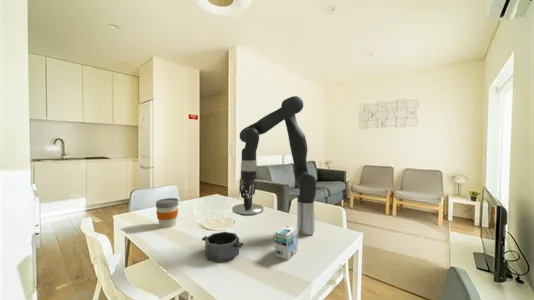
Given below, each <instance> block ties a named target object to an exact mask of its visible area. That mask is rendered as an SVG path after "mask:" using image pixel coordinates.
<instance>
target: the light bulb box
mask: <svg viewBox="0 0 534 300" xmlns="http://www.w3.org/2000/svg"><path fill="white" fill-rule="evenodd" d="M274 234H275V235H274V239H275V241H274V242H275V243H274V247H275V248H274V250H275V252H274V254H275V255H274V256H275V257H277V258H281V259H283V260H287V261H289V260H291V258H292V257H293V256H294V255H296V253H297V252H298V251H299V233H298V228H297V227H295V226H291V225H284V226H283V227H281V228H279V229H278V230H276V231H275V233H274Z"/></svg>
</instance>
